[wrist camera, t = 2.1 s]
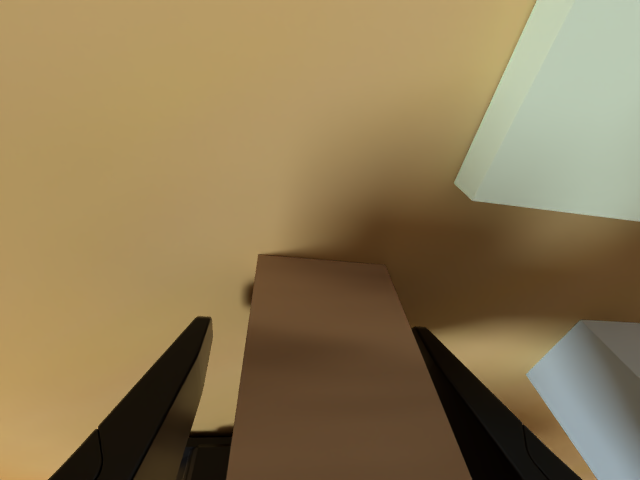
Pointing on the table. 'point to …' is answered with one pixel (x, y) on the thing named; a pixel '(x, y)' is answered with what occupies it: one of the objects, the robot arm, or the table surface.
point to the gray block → (596, 394)
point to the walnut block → (336, 381)
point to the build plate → (565, 115)
